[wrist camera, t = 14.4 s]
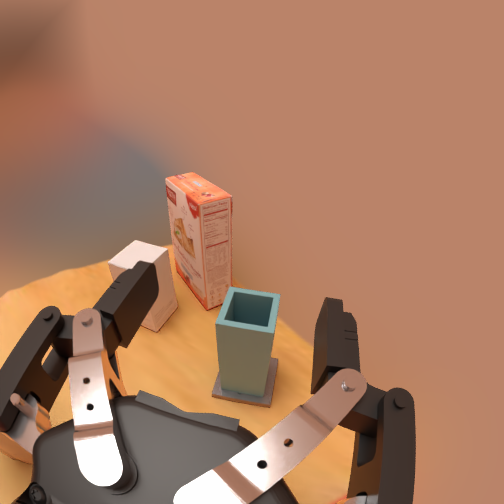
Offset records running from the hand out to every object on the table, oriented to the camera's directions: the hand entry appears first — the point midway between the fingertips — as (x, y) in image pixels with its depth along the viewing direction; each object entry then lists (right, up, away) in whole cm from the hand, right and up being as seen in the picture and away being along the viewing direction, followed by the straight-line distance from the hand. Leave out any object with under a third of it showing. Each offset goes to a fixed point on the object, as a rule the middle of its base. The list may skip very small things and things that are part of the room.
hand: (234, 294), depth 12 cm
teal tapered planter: (0, -16, +24) cm, 28 cm away
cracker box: (-9, -5, +42) cm, 43 cm away
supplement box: (-17, -9, +34) cm, 40 cm away
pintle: (0, -16, +24) cm, 29 cm away
